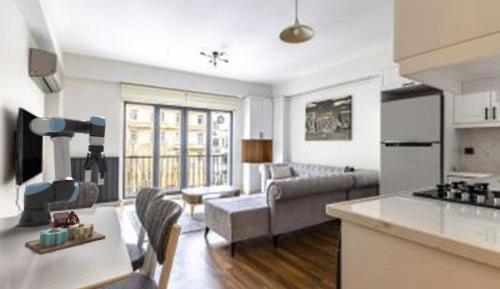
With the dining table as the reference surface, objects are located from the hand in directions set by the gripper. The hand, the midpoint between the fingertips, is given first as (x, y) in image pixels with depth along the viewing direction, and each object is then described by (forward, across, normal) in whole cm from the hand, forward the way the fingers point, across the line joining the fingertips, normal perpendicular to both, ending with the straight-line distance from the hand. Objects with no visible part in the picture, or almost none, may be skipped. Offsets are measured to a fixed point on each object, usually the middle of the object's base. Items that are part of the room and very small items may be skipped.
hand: (93, 183), depth 148 cm
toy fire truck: (+27, -12, -7) cm, 30 cm away
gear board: (+27, +6, -14) cm, 31 cm away
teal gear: (+26, +6, -20) cm, 33 cm away
